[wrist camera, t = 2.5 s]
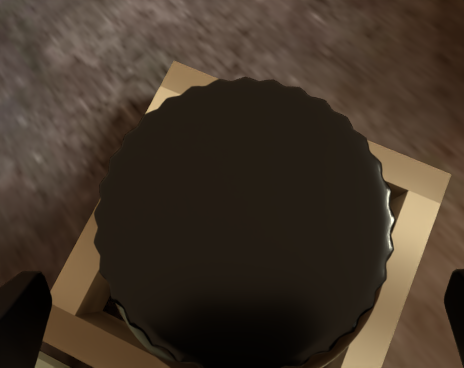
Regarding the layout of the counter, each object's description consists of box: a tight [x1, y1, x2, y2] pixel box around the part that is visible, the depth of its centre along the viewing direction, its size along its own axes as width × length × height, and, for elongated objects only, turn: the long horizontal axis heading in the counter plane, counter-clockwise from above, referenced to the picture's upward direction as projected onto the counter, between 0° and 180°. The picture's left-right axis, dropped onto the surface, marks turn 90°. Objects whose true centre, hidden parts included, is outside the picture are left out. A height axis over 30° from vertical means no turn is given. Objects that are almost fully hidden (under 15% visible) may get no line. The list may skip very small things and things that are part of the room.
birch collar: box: [43, 61, 451, 368], centre depth 17 cm, size 11×11×3 cm
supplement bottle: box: [93, 77, 396, 368], centre depth 12 cm, size 7×7×12 cm
